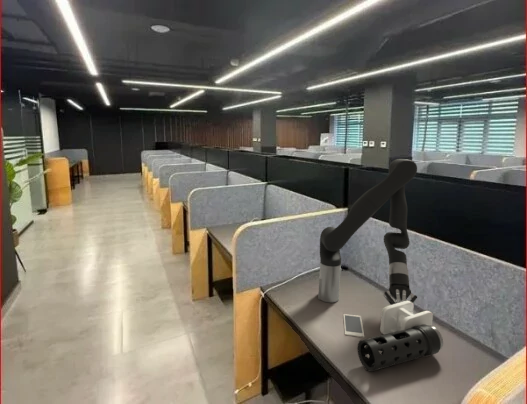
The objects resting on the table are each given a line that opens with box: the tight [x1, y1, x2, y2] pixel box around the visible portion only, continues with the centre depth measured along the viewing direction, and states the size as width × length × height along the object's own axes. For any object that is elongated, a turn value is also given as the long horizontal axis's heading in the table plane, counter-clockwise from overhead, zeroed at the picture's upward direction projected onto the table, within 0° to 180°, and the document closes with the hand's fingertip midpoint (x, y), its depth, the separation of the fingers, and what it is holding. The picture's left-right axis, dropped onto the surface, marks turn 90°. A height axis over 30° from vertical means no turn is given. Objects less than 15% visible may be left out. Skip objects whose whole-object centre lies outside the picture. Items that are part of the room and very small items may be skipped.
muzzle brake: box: [356, 324, 444, 372], centre depth 102 cm, size 10×28×10 cm, turn 110°
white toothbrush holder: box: [379, 300, 434, 335], centre depth 114 cm, size 15×11×12 cm
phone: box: [343, 313, 365, 339], centre depth 122 cm, size 7×14×1 cm, turn 168°
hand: (401, 318), depth 120 cm, fingers closed
